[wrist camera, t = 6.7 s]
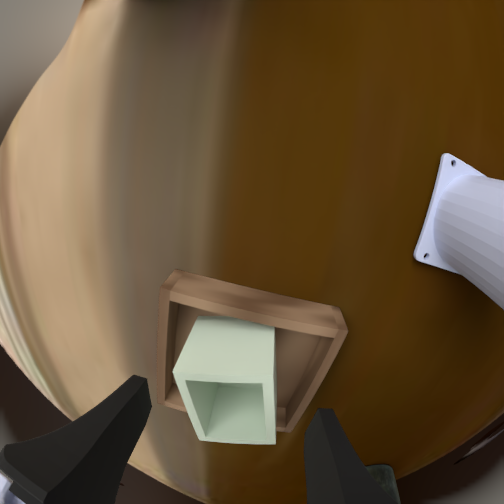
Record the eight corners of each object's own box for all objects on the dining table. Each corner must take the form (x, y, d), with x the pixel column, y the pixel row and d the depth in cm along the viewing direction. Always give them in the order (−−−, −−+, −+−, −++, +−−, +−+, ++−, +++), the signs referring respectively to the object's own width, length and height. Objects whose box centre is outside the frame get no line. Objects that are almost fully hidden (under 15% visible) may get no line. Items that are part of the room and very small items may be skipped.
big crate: (339, 307, 19) (348, 331, 16) (290, 408, 23) (290, 432, 20) (175, 269, 19) (159, 287, 16) (167, 380, 23) (157, 403, 20)
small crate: (274, 315, 19) (273, 375, 13) (277, 387, 21) (275, 444, 15) (198, 315, 19) (172, 371, 13) (213, 385, 22) (199, 440, 16)
